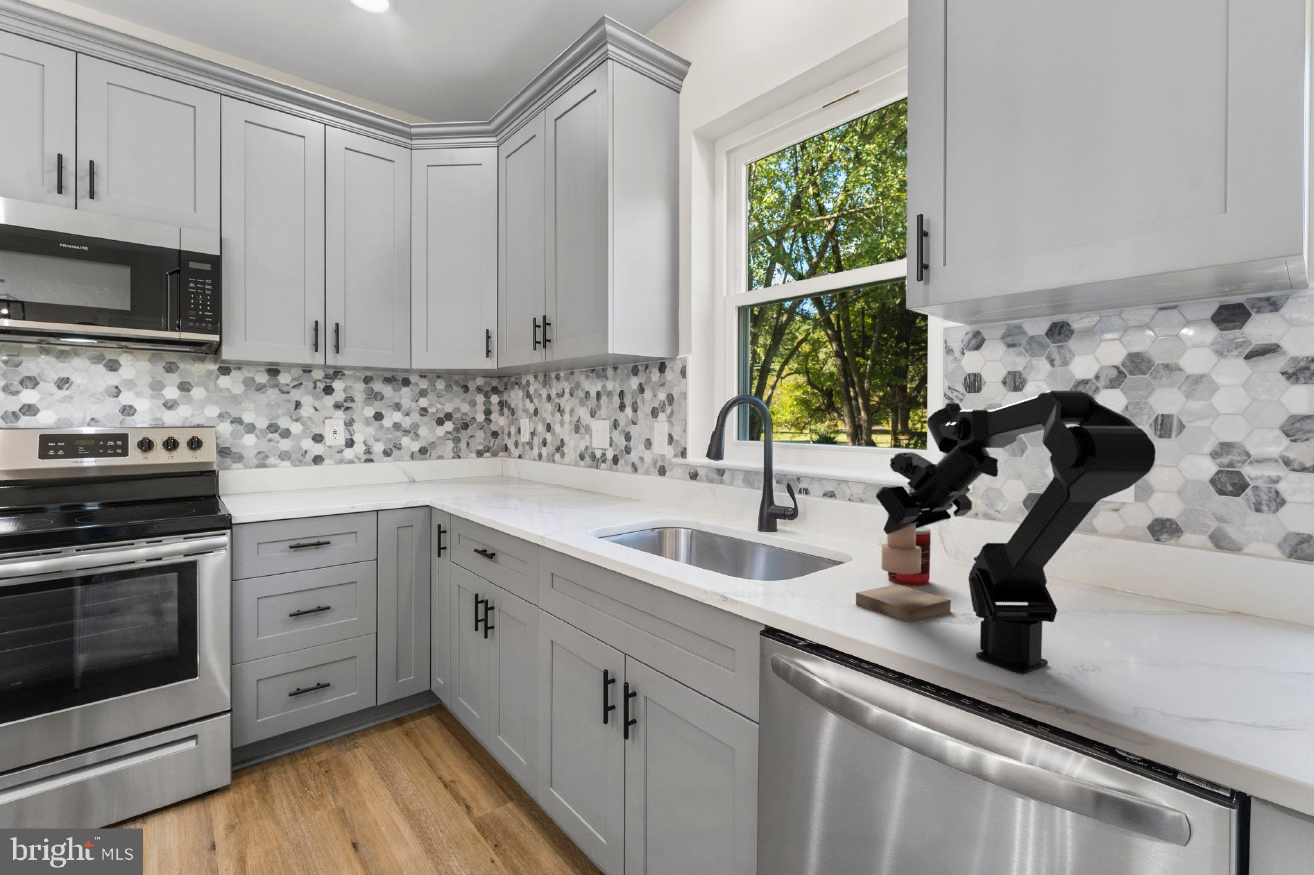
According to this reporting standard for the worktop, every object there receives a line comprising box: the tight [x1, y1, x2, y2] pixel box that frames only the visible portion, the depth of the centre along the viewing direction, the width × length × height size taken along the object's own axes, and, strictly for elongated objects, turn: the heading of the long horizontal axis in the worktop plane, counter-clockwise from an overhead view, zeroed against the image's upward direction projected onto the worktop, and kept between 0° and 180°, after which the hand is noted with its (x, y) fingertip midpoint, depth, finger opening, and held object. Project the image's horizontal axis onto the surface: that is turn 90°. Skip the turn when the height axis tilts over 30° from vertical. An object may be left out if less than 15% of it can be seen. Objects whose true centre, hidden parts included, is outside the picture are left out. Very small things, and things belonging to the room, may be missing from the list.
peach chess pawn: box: [881, 513, 921, 574], centre depth 106 cm, size 6×6×11 cm
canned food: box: [887, 526, 932, 587], centre depth 124 cm, size 8×8×11 cm
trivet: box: [855, 583, 952, 623], centre depth 106 cm, size 11×11×2 cm
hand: (894, 530), depth 107 cm, fingers closed on peach chess pawn, 5 cm apart
